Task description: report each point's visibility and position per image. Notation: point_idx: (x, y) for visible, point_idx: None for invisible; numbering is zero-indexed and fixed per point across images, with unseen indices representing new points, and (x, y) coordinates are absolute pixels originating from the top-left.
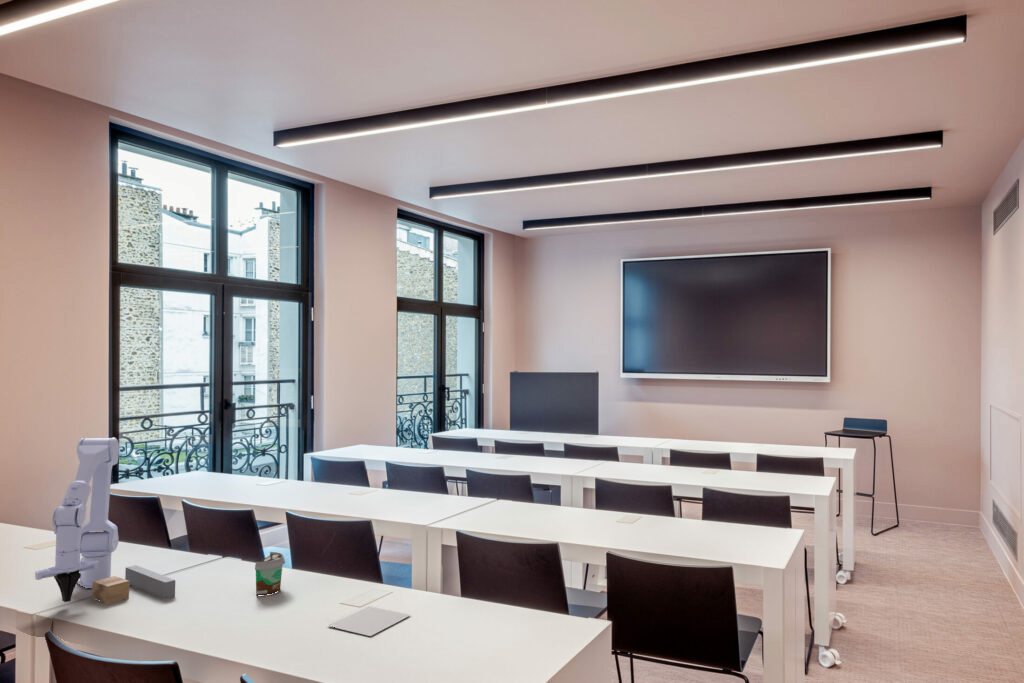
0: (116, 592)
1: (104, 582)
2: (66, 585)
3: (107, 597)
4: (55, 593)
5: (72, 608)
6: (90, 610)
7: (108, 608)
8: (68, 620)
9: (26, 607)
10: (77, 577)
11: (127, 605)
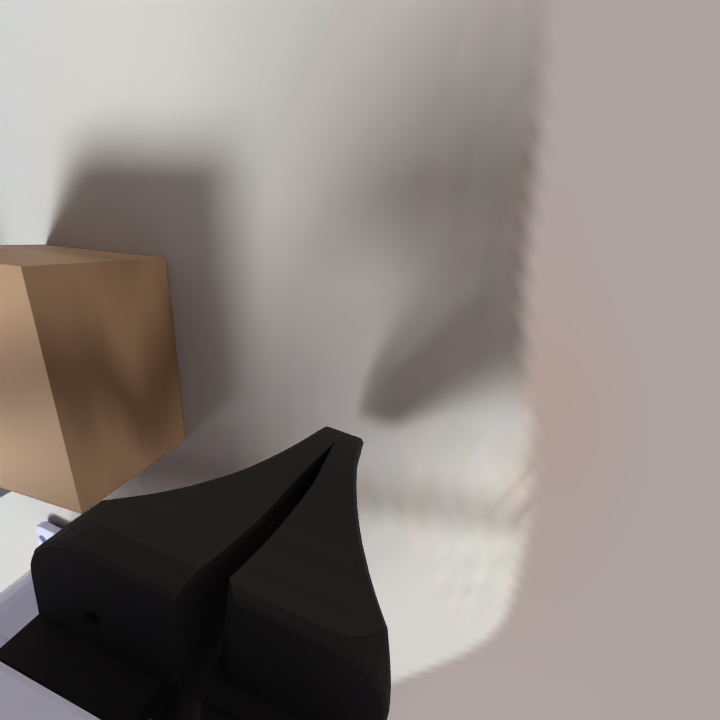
0: (45, 253)
1: (23, 402)
2: (312, 525)
3: (124, 261)
4: None
5: (336, 384)
6: (290, 220)
7: (194, 136)
8: (538, 110)
9: (465, 640)
10: (127, 519)
11: (84, 73)
